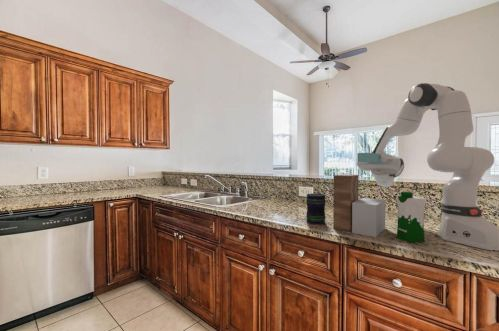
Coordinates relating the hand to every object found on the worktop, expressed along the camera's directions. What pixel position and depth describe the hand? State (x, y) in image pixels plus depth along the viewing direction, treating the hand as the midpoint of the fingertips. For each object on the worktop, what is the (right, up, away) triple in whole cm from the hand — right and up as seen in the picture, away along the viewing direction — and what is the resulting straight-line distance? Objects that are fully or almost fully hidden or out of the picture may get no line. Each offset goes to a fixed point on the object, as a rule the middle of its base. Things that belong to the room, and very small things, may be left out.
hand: (375, 156), depth 121 cm
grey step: (-7, -35, -7) cm, 37 cm away
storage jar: (-27, -35, +9) cm, 46 cm away
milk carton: (+4, -36, -20) cm, 41 cm away
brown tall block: (-15, -35, -2) cm, 38 cm away
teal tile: (-6, -3, -7) cm, 10 cm away
